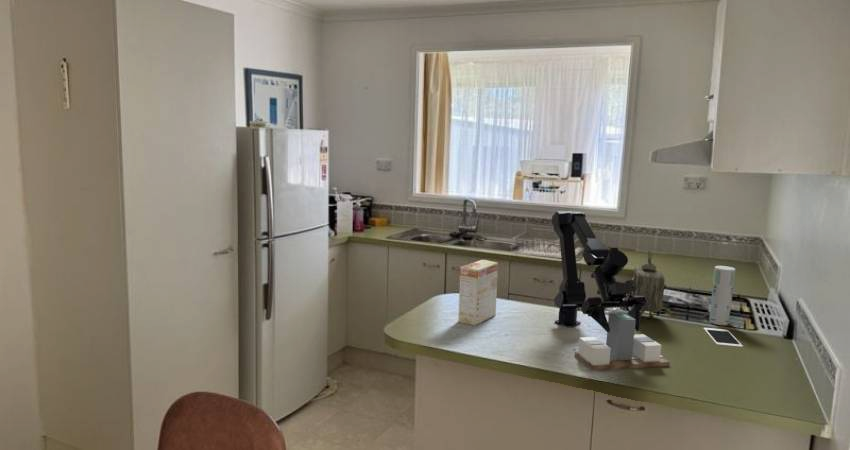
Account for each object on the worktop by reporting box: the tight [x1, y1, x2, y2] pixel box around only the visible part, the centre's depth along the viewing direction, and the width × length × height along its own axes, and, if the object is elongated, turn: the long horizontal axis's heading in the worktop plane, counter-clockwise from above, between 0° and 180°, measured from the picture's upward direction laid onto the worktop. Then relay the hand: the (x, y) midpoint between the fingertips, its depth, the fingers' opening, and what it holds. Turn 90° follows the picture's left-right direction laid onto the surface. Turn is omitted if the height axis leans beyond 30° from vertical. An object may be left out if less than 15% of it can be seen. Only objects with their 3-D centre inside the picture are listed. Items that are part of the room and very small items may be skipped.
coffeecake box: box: [457, 259, 499, 326], centre depth 203 cm, size 15×7×20 cm, turn 144°
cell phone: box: [703, 327, 744, 348], centre depth 193 cm, size 8×16×1 cm, turn 169°
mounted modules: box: [577, 333, 662, 365], centre depth 170 cm, size 21×9×5 cm, turn 102°
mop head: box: [631, 249, 665, 322], centre depth 209 cm, size 14×9×25 cm, turn 164°
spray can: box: [708, 265, 736, 326], centre depth 207 cm, size 6×6×20 cm
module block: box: [605, 312, 636, 361], centre depth 169 cm, size 6×5×12 cm
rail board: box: [574, 351, 671, 372], centre depth 171 cm, size 24×11×2 cm, turn 102°
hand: (623, 331), depth 168 cm, fingers open, 9 cm apart
